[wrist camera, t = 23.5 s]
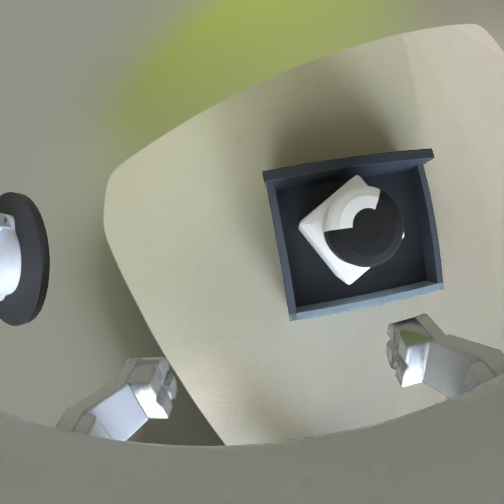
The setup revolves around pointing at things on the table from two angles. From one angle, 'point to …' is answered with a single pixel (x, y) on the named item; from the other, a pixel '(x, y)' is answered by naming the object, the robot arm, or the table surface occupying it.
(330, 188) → the drawer
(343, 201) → the medicine bottle
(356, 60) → the table surface
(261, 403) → the table surface
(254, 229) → the table surface
